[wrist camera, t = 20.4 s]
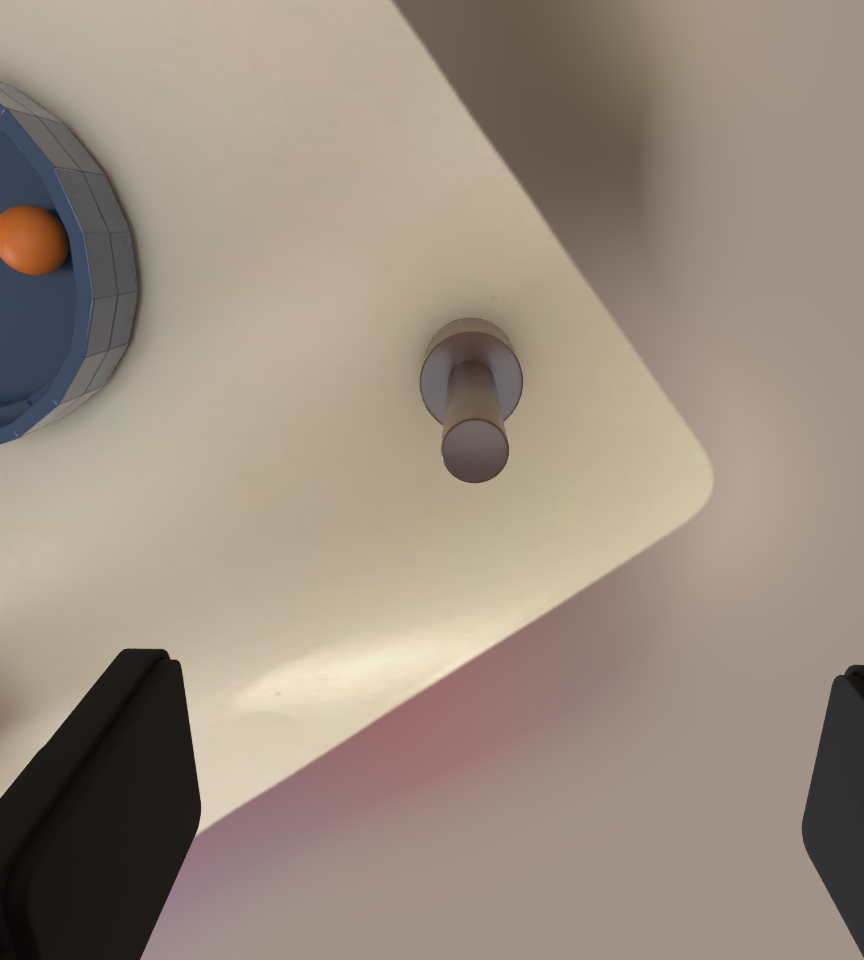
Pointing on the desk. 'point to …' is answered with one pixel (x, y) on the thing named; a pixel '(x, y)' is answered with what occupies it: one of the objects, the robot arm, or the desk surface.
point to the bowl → (59, 274)
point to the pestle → (472, 396)
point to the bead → (32, 240)
